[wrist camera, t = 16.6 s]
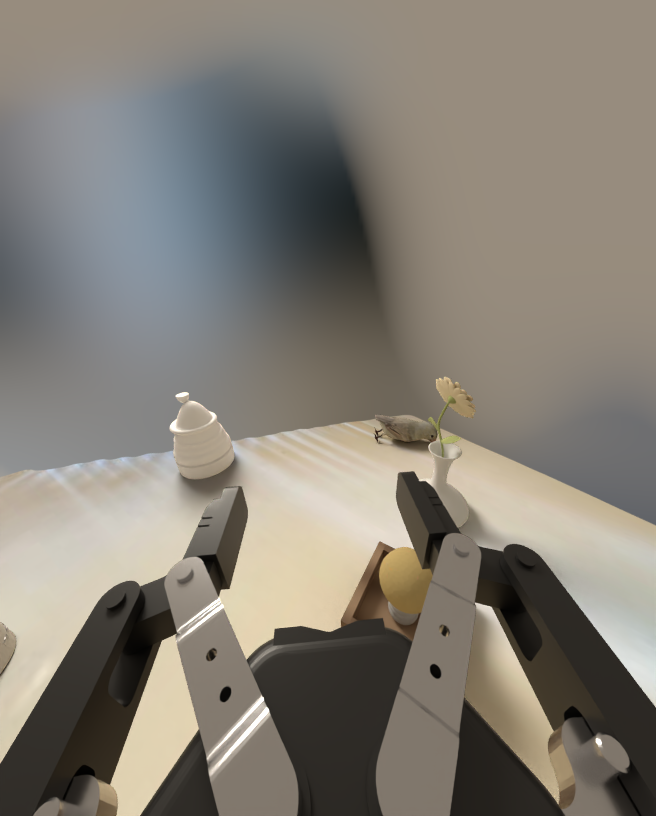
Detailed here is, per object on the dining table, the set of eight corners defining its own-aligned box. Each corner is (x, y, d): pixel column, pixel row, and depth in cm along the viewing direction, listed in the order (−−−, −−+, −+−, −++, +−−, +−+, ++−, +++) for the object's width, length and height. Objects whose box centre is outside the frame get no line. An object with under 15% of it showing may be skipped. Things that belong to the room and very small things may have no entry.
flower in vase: (478, 537, 43) (522, 402, 31) (408, 535, 44) (426, 403, 33) (451, 481, 54) (476, 368, 43) (396, 481, 55) (406, 369, 44)
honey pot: (169, 467, 63) (141, 401, 55) (215, 441, 73) (197, 382, 65) (199, 487, 57) (173, 415, 49) (245, 455, 66) (229, 391, 58)
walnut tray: (443, 707, 26) (448, 696, 25) (341, 632, 32) (340, 620, 31) (461, 596, 35) (465, 583, 34) (378, 553, 41) (379, 541, 40)
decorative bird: (437, 449, 65) (442, 423, 61) (372, 444, 68) (373, 420, 65) (434, 437, 69) (438, 413, 66) (373, 433, 73) (374, 410, 69)
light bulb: (401, 574, 37) (407, 527, 33) (439, 617, 32) (453, 569, 28) (367, 603, 34) (368, 555, 30) (404, 655, 29) (413, 608, 25)
